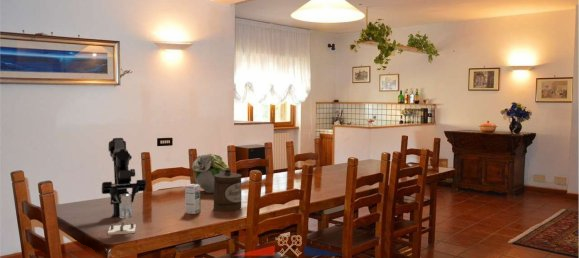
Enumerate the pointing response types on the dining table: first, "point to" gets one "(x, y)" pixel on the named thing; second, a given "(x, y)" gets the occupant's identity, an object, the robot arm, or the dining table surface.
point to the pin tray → (122, 229)
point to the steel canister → (125, 205)
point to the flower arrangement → (208, 170)
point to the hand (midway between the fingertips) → (126, 202)
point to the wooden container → (227, 191)
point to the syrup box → (192, 199)
